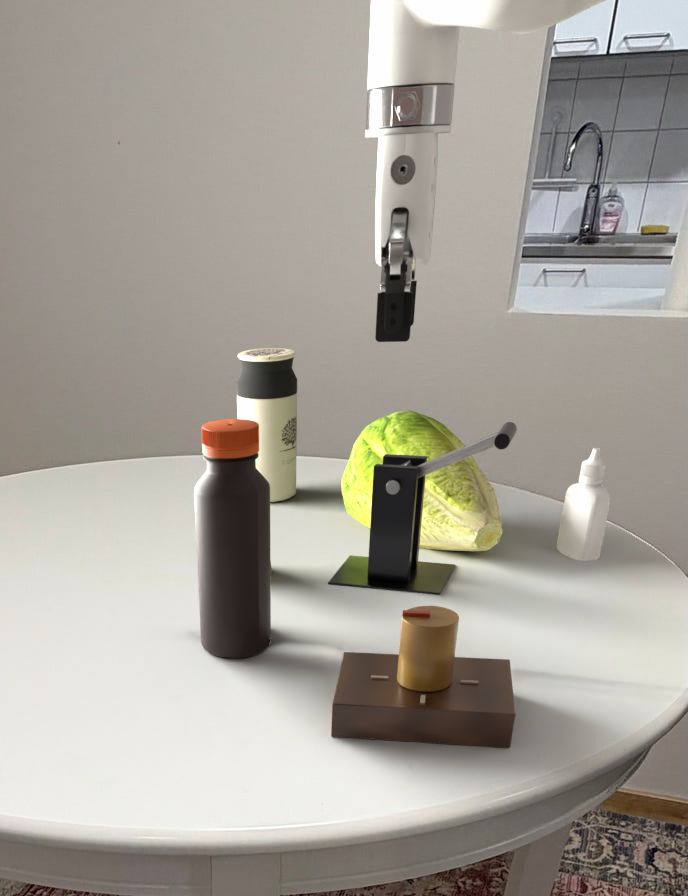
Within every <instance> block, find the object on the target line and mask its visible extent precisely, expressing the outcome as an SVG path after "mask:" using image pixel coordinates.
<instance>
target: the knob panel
mask: <svg viewBox="0 0 688 896" xmlns="http://www.w3.org/2000/svg"><path fill="white" fill-rule="evenodd" d="M398 659H399V653H380V652H379V653H375V652H355V651H354V652H353V651H344V652H343V655H342V660H341V664H340V668H339V673H338V678H337V681H336V686H335V690H334V695H333V700H332V704H331V725H330V726H331V729H330V731H331V732H330V736H331V737H332V738H333V737H334V738H346V739H347V738H349V739H364V740H377V741H379V740H381V741H395V742H410V743H411V742H412V743H424V744H425V743H427V744H442V745H457V746H475V747H487V748H489V747H492V748H506V749H509V748H511V744H512V739H513V732H514V726H515V720H516V706H515V697H514V696H515V695H514V687H513V686H514V685H513V678H512V667H511V660H510V659H509V658H508V659H506V658H505V659H504V658H485V657H484V658H483V657H463V656H455V657H454V666H453V674H452V682H451V684H450V685H449V686H448V687H447V688H445V689H442V690H439V691H433V692H421V691H414V690H410V689H407V688H405V687H403V686H402V685H400V684H399V683H398V681H397V671H398Z"/></svg>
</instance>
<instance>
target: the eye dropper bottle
mask: <svg viewBox="0 0 688 896" xmlns="http://www.w3.org/2000/svg"><path fill="white" fill-rule="evenodd" d="M606 468H607V462H606V461H604V460H603V459H602V458H601V448H600V447H593V448H592V451H591V454H590V456H589V457H588V459H584V460H583V461H582V462H581V465H580V472H579V478H578V482H576V483H572V484H570V485H569V486H568V488H567V489H566V491H565V495H564V501H563V506H562V513H561V518H560V523H559V530H558V533H557V534H558V536H557V541H556V550H557V551H559V553H560V554H562V555H564V556H566V557H568V558H570V559H573V560H577V561H580V562H589V561H590V562H591V561H598V560H600V556H601V551H602V547H603V541H604V536H605V533H606V526H607V522H608V515H609V512H610V511H609V510H610V505H611V496H610V493H609V491H608V490H607V489H606V487H605V486H604V485H603V484H602V483H603V482H604V477H605V472H606V471H605V470H606Z"/></svg>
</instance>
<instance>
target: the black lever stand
mask: <svg viewBox="0 0 688 896" xmlns="http://www.w3.org/2000/svg"><path fill="white" fill-rule="evenodd" d="M407 461H411V464H412V466H404V465H400V464H403V463H405V462H407ZM425 462H427V456H411V455H391V454H385V455H384V456H383V464H376V465H375V466H374V469H373V487H372V505H371V523H370V528H369V540H368V556H361V555H349V556H348V557H347V558H346V559H345V561H344V562H343V563H342V565H341V566H340V567H339V568H338V570H336V572H335V573H334V574H333V575H332V577H331V578H330V579H329V581H328V582H327V585H331V586H341V587H352V588H362V589H374V590H384V591H393V592H403V593H414V594H424V595H433V596H441V594H442V592H443V590H444V589H445V587H446V585H447V583H448V581H449V579H450V577H451V576H452V574H453V572H454V570H455V568H456V564H454V563H442V562H433V561H432V562H430V561H421V560H420V561H419V554H420V547H419V545H420V533H421V522H422V511H423V499H424V488H425V476H426V475H424V476H422V477H419V478H418V473H419V466H418V465H421V464H423V463H425Z"/></svg>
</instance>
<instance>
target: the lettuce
mask: <svg viewBox="0 0 688 896" xmlns="http://www.w3.org/2000/svg"><path fill="white" fill-rule="evenodd" d="M464 446H466V444H465V443H464V442H463V441H462V440H461V439H460V438H459V437H457V436H456V435H455V434H454V433H453V432H452V431H451V430H450V429H449V428H448V427H447V426H446V425H445V424H444V423H442V422H441V421H438V420H436V419H435V418H433V417H431V416H428V415H425V414H422V413H420V412H417V411H413V410H411V409H408V410H401V411H394V412H391V413H390V414H387V415H383V416H382V417H379V418H377V419H375V420H374V421H373V422H371V423H370V424H368V425H367V426H365V427H364V428H363V429H362V431H361V432H360V434H359V436H358V437H357V439H356V440H355V441H354V443H353V446H352V449H351V451H350V454H349V458H348V461H347V464H346V467H345V469H344V472H343V475H342V476H341V479H340V484H341V495H342V498H343V505H344V508H345V512H346V513H347V514H348V515H349V516H351V517H352V518H353V519H354V520H356V521H357V522H359V523H360V524H362V525H363V526H365V527H366V528H368V529H370V523H371V505H372V487H373V469H374V466H375V465H376V464H383V456H384V455H385V454H391V455H411V456H427V462H428V461H430V460H433V459H435V458H437V457H440V456H442V455H444V454H447V453H449V452H452V451H454V450H456V449H459V448H461V447H464ZM503 532H504V530H503V522H502V517H501V512H500V507H499V501H498V498H497V495H496V490H495V488H494V487H493V485H492V483H491V482H490V481H489V479H488V477H487V476H486V474H485V473H484V472H483V470H482V469H481V468H480V466H479V465H478V463H477V461H476V460H475V459H474V456H470V457H468V458H466V459H463V460H461V461H458V462H456V463H453V464H451V465H449V466H446V467H444V468H441V469H439V470H436V471H434V472H432V473H429V474H427V475H426V476H425V488H424V499H423V511H422V522H421V533H420V545H419V548H421V549H426V550H427V549H428V550H437V551H455V552H456V551H457V552H484V551H485V552H486V551H489V550H491V549H492V548H494V546H496V545H498V544H499V542H500V541H501V537H502V535H503Z"/></svg>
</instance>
